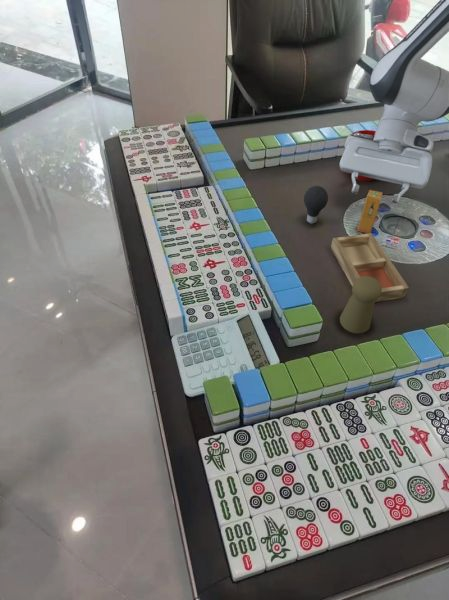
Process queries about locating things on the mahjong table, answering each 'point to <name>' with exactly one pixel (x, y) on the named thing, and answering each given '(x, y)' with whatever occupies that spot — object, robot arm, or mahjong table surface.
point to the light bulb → (315, 202)
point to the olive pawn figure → (361, 305)
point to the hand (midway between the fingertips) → (374, 197)
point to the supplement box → (369, 211)
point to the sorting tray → (369, 264)
